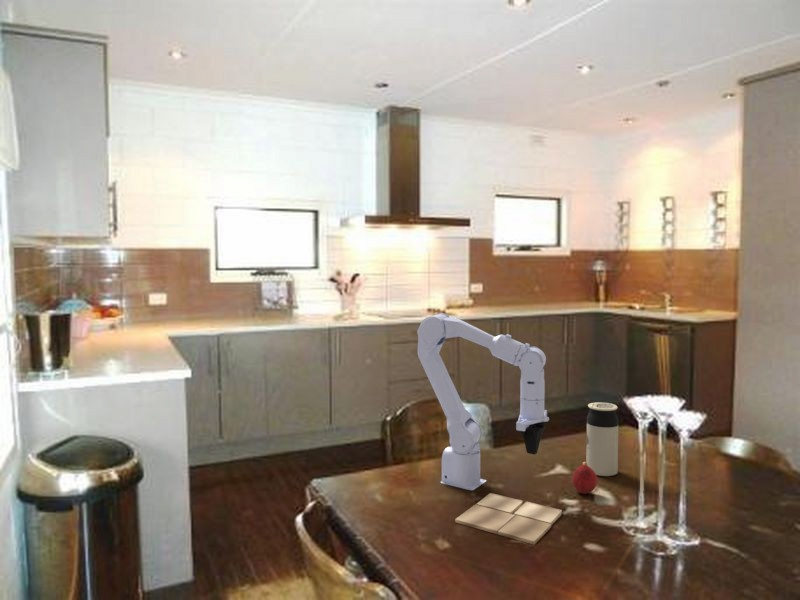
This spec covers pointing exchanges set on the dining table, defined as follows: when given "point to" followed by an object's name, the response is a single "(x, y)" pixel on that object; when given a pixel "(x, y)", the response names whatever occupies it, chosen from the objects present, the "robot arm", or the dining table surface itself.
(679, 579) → the dining table surface
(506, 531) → the laid row
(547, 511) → the plank
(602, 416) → the travel mug
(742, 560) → the dining table surface
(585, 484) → the onion
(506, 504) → the plank
